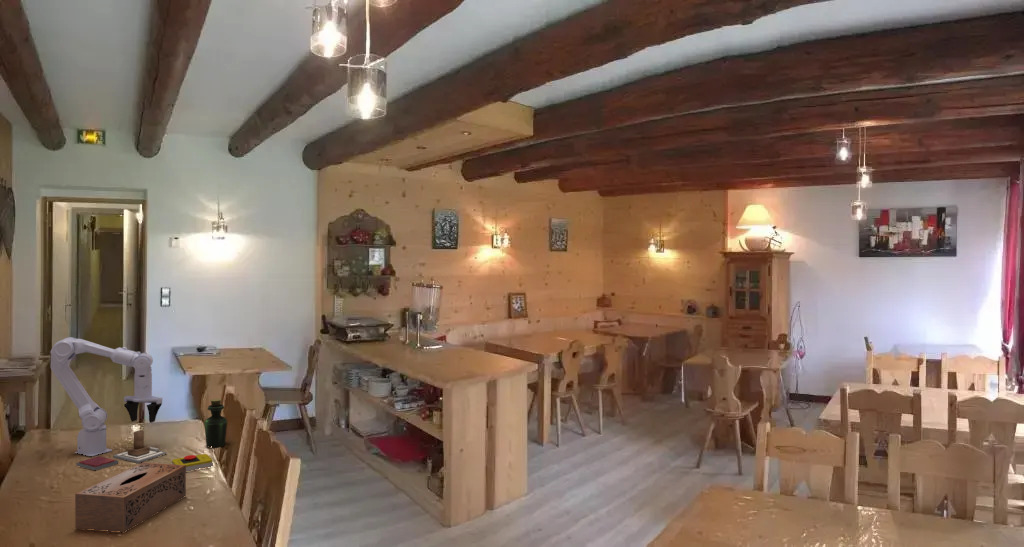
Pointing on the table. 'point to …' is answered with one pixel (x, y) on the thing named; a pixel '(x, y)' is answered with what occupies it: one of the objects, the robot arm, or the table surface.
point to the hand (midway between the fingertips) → (143, 421)
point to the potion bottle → (215, 425)
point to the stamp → (138, 445)
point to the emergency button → (194, 461)
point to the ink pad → (97, 463)
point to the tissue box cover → (129, 497)
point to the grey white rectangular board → (152, 454)
